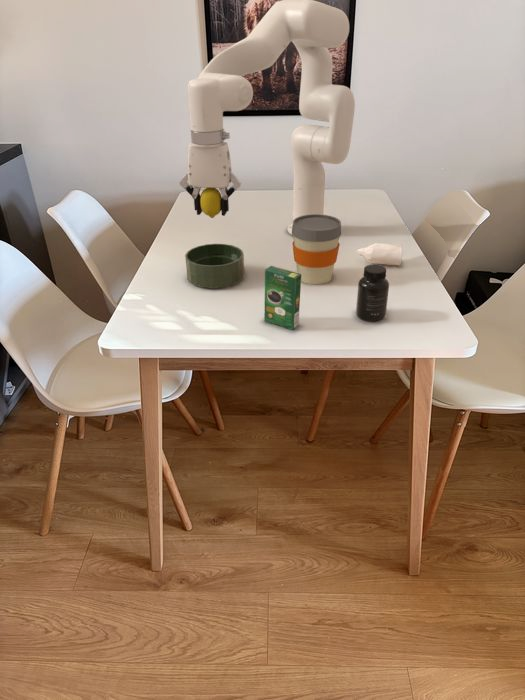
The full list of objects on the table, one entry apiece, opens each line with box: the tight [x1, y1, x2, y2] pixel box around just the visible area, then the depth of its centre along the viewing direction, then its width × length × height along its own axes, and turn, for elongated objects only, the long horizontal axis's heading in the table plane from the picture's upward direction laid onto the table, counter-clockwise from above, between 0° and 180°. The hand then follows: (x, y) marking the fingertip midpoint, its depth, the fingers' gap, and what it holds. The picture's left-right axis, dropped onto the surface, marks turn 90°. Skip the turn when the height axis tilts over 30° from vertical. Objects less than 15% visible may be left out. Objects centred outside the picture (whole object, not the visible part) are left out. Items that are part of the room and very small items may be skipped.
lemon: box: [200, 188, 222, 219], centre depth 138 cm, size 6×6×8 cm
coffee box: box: [263, 265, 302, 331], centre depth 123 cm, size 8×3×13 cm, turn 57°
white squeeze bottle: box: [356, 242, 403, 267], centre depth 154 cm, size 6×12×6 cm, turn 78°
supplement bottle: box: [355, 263, 390, 323], centre depth 126 cm, size 7×7×12 cm
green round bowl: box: [184, 243, 245, 289], centre depth 147 cm, size 15×15×6 cm
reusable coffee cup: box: [291, 214, 342, 285], centre depth 144 cm, size 12×13×15 cm
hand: (211, 212), depth 139 cm, fingers closed on lemon, 5 cm apart
